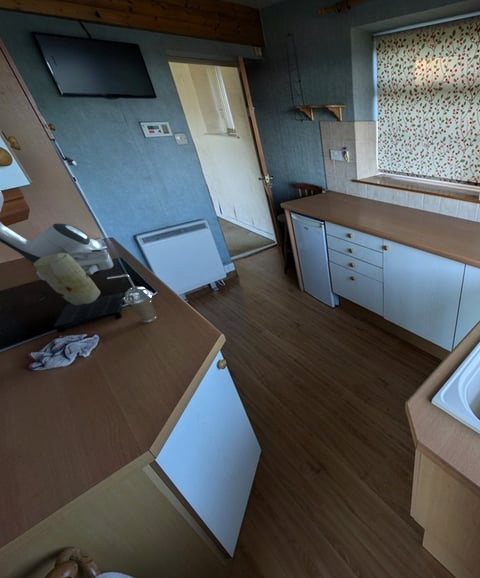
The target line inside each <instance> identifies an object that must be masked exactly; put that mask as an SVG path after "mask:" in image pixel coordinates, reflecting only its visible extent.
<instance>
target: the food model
mask: <svg viewBox="0 0 480 578" xmlns="http://www.w3.org/2000/svg"><path fill="white" fill-rule="evenodd" d="M33 266H34V268H35V269H36V271H38V272H39V273H40V274H41V275H42V277H43V278H44V279H45V280H44V281H45V282H47V284H48V285H49V286H50V287H51V288H52V289H53V290H54V292H56V293H57V294H58V295H59V296H60V297H62V298H63V300H65V301H67V302H68V303H69V304H71V303H72V304H74V305H80V304H89V303H92V302H93V301H95V300H96V299H97V298H99V296H100V295H101V290H100V289H99V288H98V287H97V285H96V284H95V282H94V281H93V280H92V278H91V277H90V275H87V274H86V272H85V271H84V270H83V269H82V268H81V267H80V266H79V264H78V263H77V262H76V261H75V260H74V259H73V258H72V257H71V256H70V255H69V254H68V253H58V254H52V255H48V256H45V257H42V258H40V259H39V260H37V261H36V262H35V263H33Z"/></svg>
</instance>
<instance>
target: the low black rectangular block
mask: <svg viewBox="0 0 480 578" xmlns="http://www.w3.org/2000/svg"><path fill="white" fill-rule="evenodd" d="M125 293H126V291H124V292H119V293H115V294H110V295H105V296H100V297H98V298H97V299H96V300H95V301H93V302H92V303H89V304H80V305H74V304H72V303H67V304H66V306H65V307H64V308H63V310H62V311H61V313H60V314H59V317H58V318H57V320H56V322H55V323H54V324H53V326H52V328H53V329H54V330H56V331H57V332H58V333H59V334H61V333H64V331H65V332H66V330H67V328H66V327H69V326H73V325H78V324H82V323H86V322H87V323H88V322H91V321H94V320H99V319H103V318H108V317H112V316H113V317H114V318H115V320H119V319H122V318H123V315H122V314H121V310H122V307H123V304H124V300H123V299H124V297H125ZM65 329H66V330H65ZM60 332H61V333H60Z"/></svg>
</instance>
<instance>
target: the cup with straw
mask: <svg viewBox="0 0 480 578" xmlns="http://www.w3.org/2000/svg"><path fill="white" fill-rule="evenodd" d="M119 278H127V280H128V282H129V284H130V286H131V287H130V288H128V289H127V290H126V291H125V297H124V299H123V300H124V301H123V304H126V305H128V306H129V307H130V308H132V310H133V311H134V312H135V314H136V315H137V316H138V318H139V319H140V320H141V321H142V323H143V324H148V323H151V322H152V323H153V322H154V321H156V320H157V319H158V316H157V311H156V309H155V306H154V303H153V295H154V293H153V291H152V290H150V289H147V288H146V287H144V286H139V285H137V286H135V284H134V283H133V280H132V279H131V276H130V275H129V274H120V275H113V276H107V277H106V280H112V279H119Z"/></svg>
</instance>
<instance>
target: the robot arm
mask: <svg viewBox="0 0 480 578" xmlns="http://www.w3.org/2000/svg"><path fill="white" fill-rule="evenodd" d="M4 202H5V201H4V195H3V192H2V191H1V190H0V212H2V209H3V205H4ZM0 243H1V244H4V245H5V246H7V247H8V248H10V249H12V250H13V251H15V252H17V253H19V254H20V255H21V256H23V257H24V258H25V259H26V260H27V261H28V262H29V261H30V262H31V263H32V264H34V263H35V262H36V261H37V260H39V259H40V258H42V257H45V256H48V255H52V254H58V253H68V254H69V255H70V256H71V257H72V258H73V259H74V260H75V261H76V262H77V263H78V264H79V266H80V267H81V268H82V269H83V270H84V271H85V272H86V274H87V275H88V276H90V275H93V274H94V273H96V272H100V271H105V270H110V269H113V268H114V262H113V260H112V257H111V255H110V254H109V252H108V250H107V249H104V247H103V245H102V244H101V243H100V242H99V241H98V240H97V239H94V238H90V237H89V235H88V234H86V233H85V232H84V231H83V230H81V229H80V228H78V227H76V226H74V225H72V224H69V223H61V222H60V223H53V224H52V225H51V226H49V227H48V228H46V229H45V230H43V232H42V233H40V234H39V235H38V236H36V237H35V238H34V239H32V240H29V239H27V238H25V237H23V236H21V235H19V233H16V232H15V231H14V230H12V229H10V228H9V227H7V226H5V225H4V224H3V222H1V221H0ZM36 275H37V276H38V277H39V279H40V280H42V281H46V280H45V279H44V278H43V277H42V275H41V274H40V273H39V272H38V270H36Z"/></svg>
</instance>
